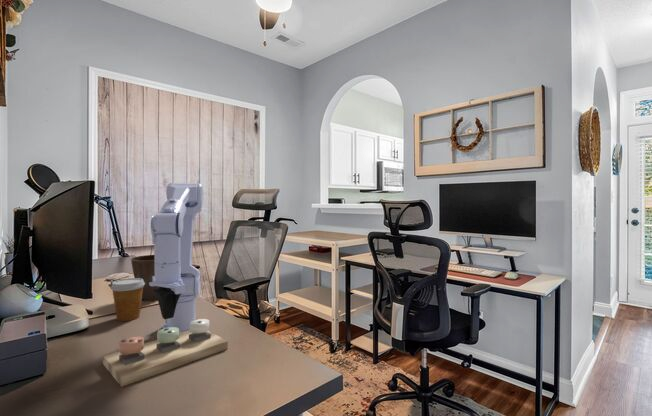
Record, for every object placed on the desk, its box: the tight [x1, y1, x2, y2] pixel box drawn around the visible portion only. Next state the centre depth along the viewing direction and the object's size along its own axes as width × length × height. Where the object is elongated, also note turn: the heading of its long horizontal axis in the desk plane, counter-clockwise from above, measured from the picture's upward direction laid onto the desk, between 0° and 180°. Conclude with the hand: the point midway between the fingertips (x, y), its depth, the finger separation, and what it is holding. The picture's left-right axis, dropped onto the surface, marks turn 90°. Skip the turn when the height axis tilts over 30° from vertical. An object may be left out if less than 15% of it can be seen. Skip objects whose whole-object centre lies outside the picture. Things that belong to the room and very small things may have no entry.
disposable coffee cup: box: [110, 277, 145, 322], centre depth 107 cm, size 10×10×12 cm
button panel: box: [102, 330, 229, 388], centre depth 81 cm, size 14×24×3 cm, turn 137°
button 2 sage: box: [156, 327, 179, 343], centre depth 81 cm, size 5×5×2 cm
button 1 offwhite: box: [190, 318, 210, 333], centre depth 87 cm, size 5×5×2 cm
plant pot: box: [130, 254, 160, 301], centre depth 130 cm, size 15×15×16 cm
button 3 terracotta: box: [118, 336, 145, 355], centre depth 75 cm, size 5×5×2 cm
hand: (168, 317), depth 81 cm, fingers closed
